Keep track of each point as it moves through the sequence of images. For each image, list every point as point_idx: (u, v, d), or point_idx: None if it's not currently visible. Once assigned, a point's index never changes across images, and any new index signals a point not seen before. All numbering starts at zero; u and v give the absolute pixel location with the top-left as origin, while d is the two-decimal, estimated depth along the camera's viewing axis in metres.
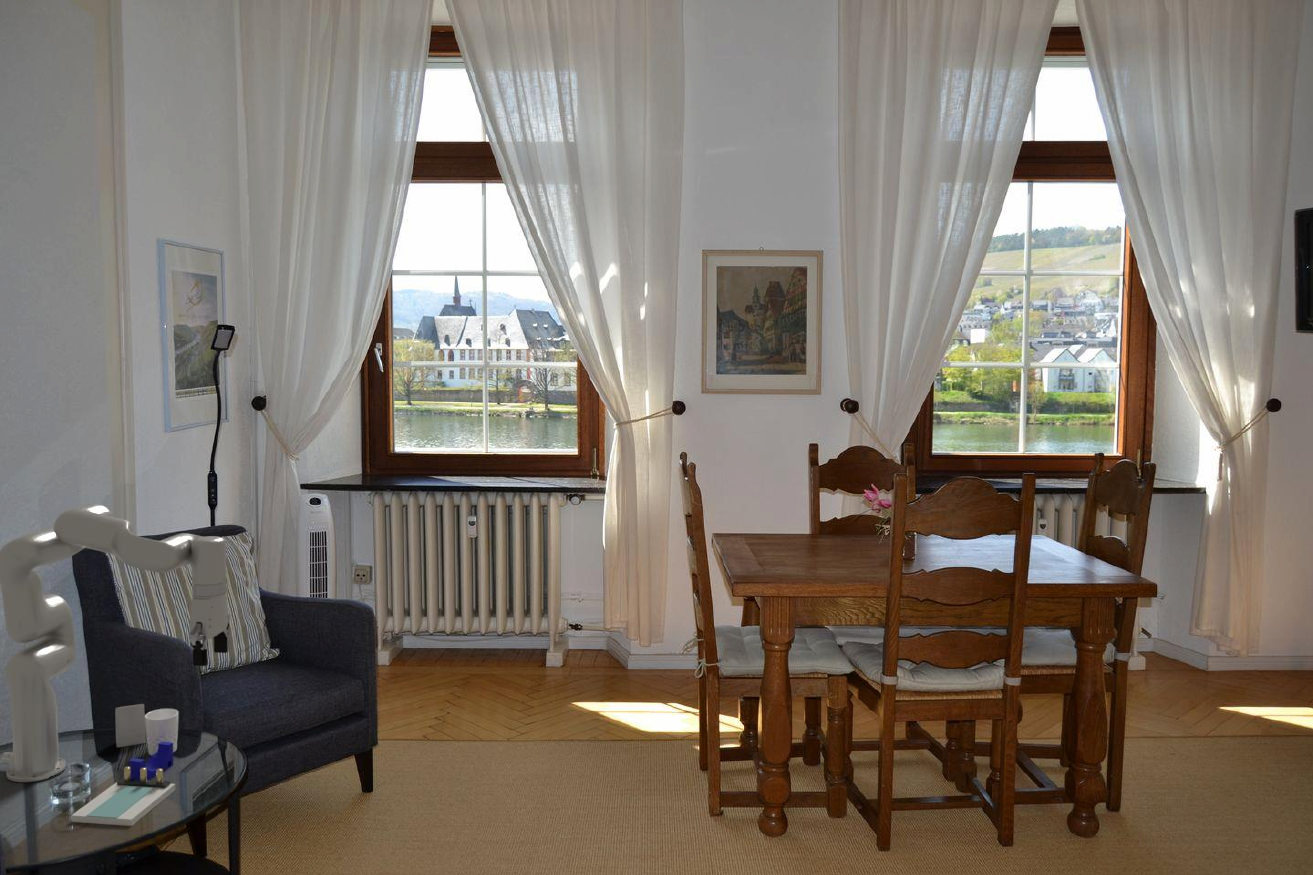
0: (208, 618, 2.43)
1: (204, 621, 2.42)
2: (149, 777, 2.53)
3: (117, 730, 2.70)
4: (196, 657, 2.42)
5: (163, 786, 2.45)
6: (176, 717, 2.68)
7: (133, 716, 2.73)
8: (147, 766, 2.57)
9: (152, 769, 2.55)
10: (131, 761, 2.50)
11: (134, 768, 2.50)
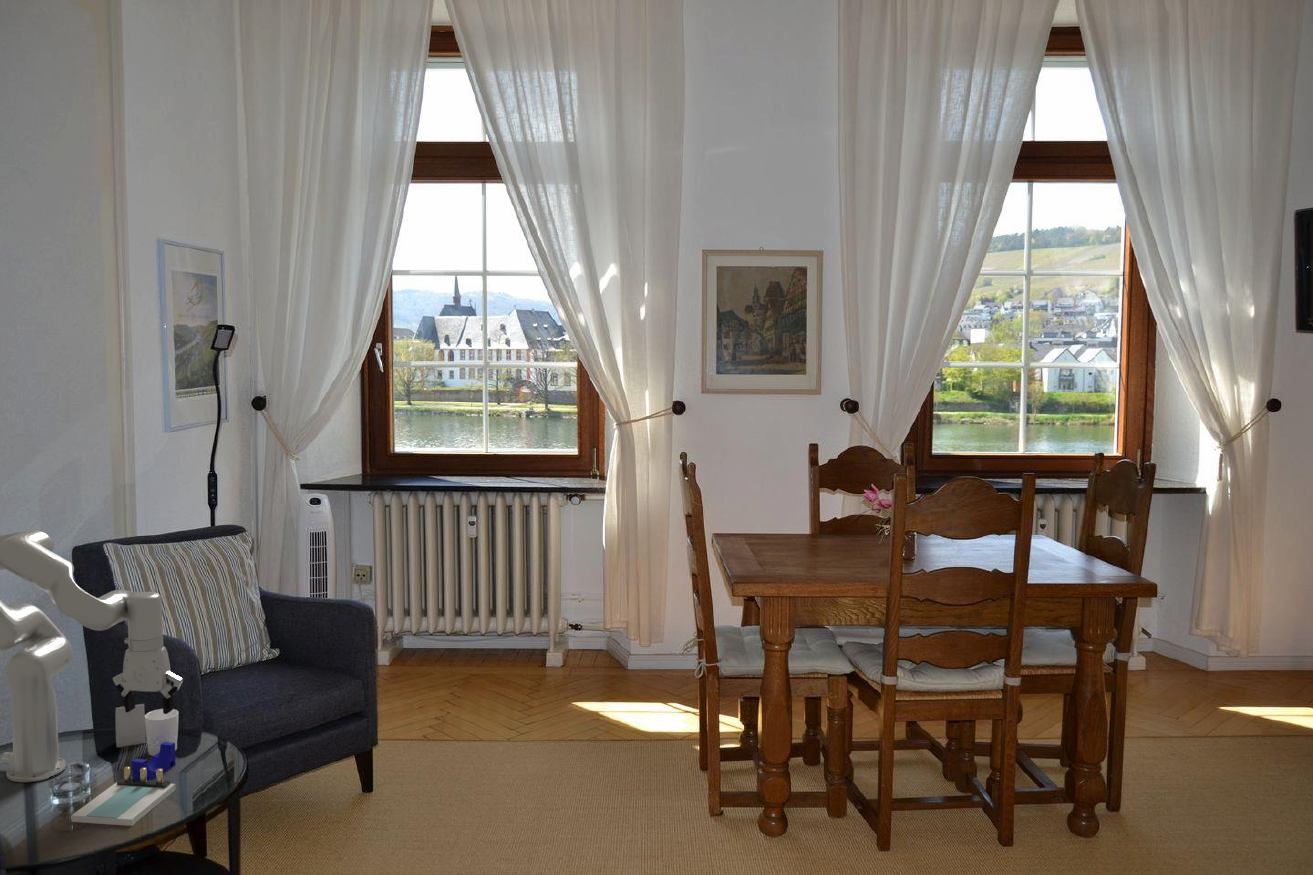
0: None
1: (169, 668, 2.54)
2: (151, 777, 2.53)
3: (117, 730, 2.70)
4: (170, 703, 2.53)
5: (163, 786, 2.45)
6: (176, 717, 2.68)
7: (133, 716, 2.73)
8: (149, 766, 2.57)
9: (154, 769, 2.55)
10: (133, 761, 2.50)
11: (136, 768, 2.50)
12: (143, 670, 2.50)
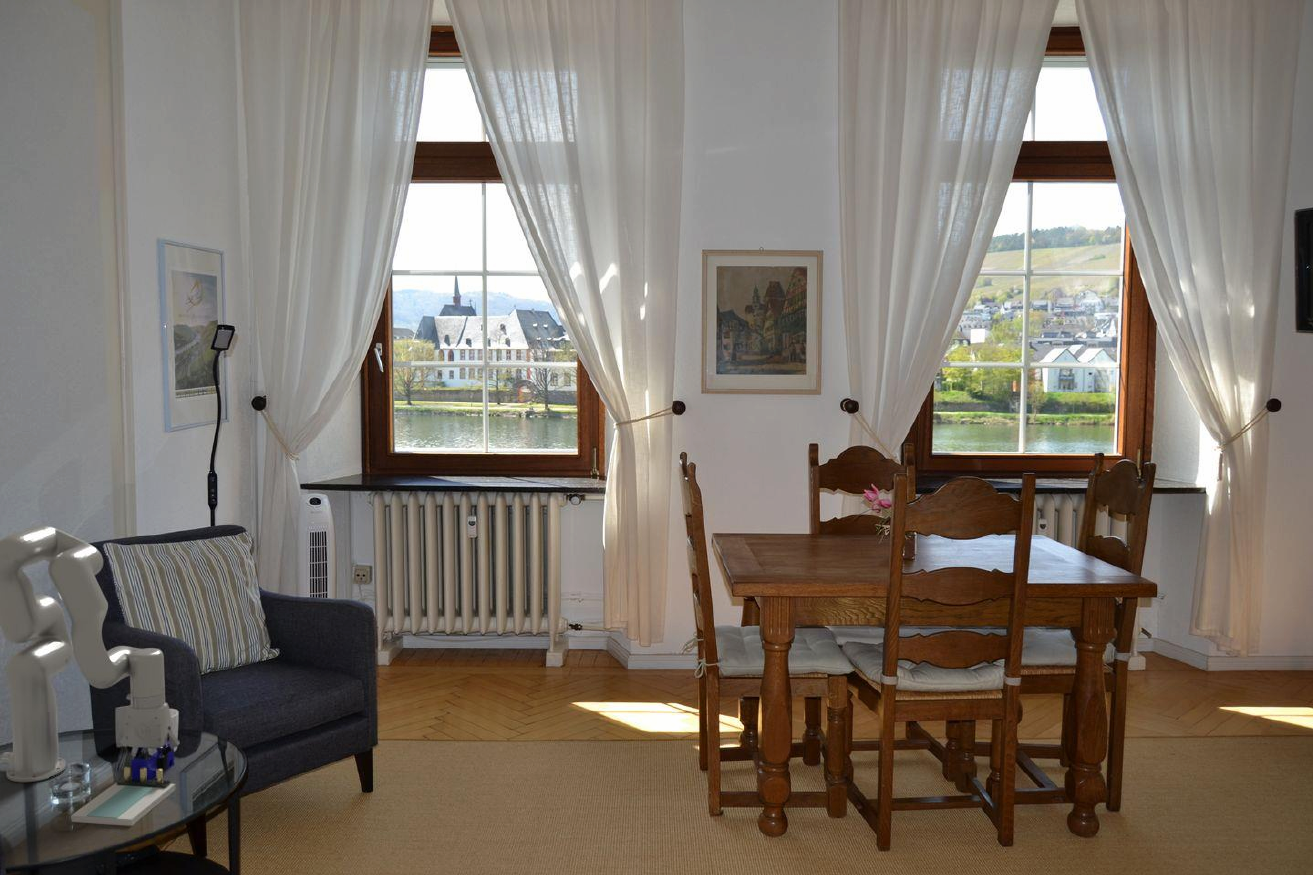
0: None
1: (171, 724, 2.56)
2: (151, 776, 2.53)
3: (117, 730, 2.70)
4: (164, 763, 2.55)
5: (163, 786, 2.45)
6: (176, 717, 2.68)
7: None
8: (148, 766, 2.57)
9: (153, 768, 2.55)
10: (133, 761, 2.50)
11: (136, 767, 2.50)
12: (145, 727, 2.52)
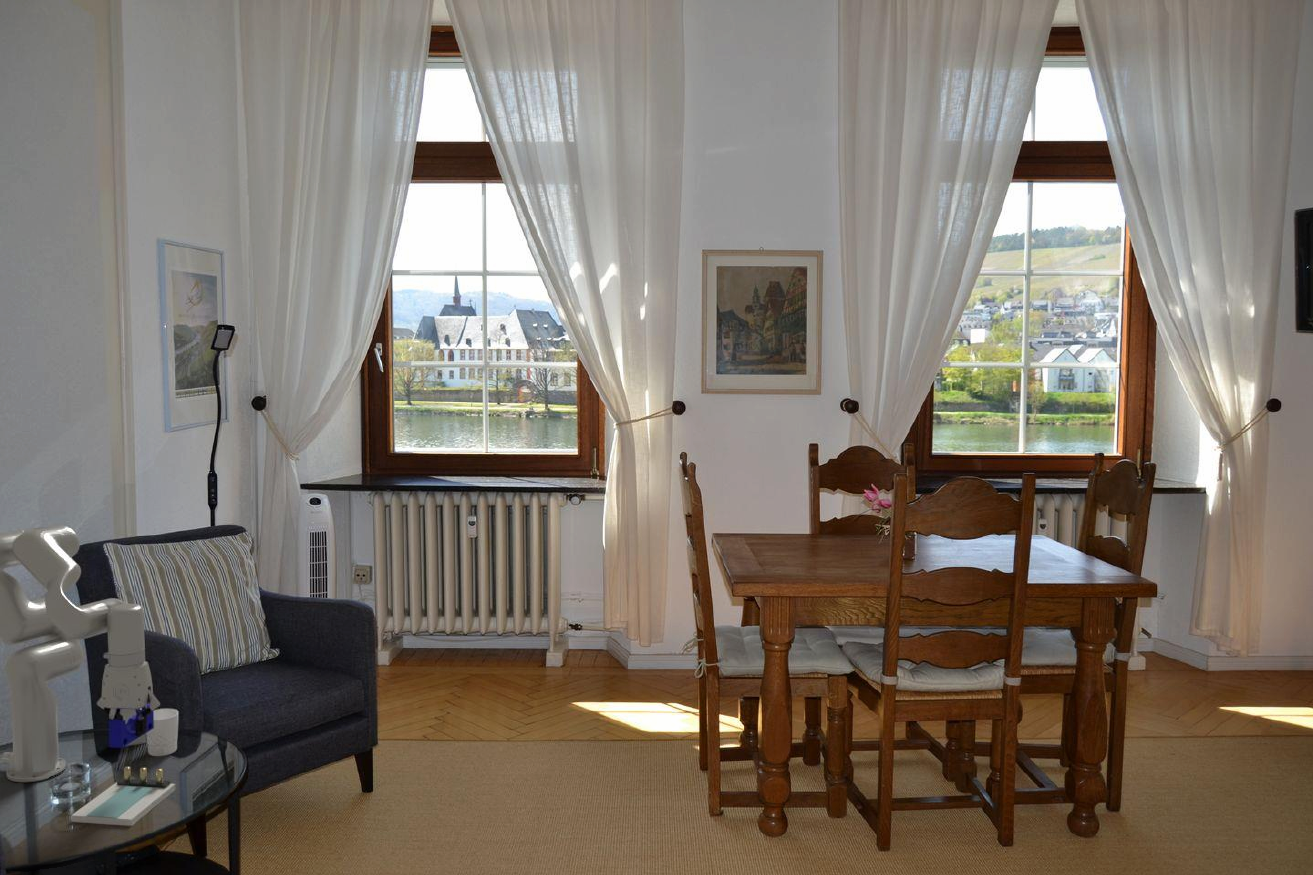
0: None
1: (151, 684, 2.42)
2: (130, 739, 2.39)
3: None
4: (143, 726, 2.41)
5: (163, 786, 2.45)
6: (176, 717, 2.68)
7: None
8: (126, 728, 2.43)
9: (132, 731, 2.41)
10: (111, 722, 2.35)
11: (114, 729, 2.35)
12: (124, 686, 2.38)
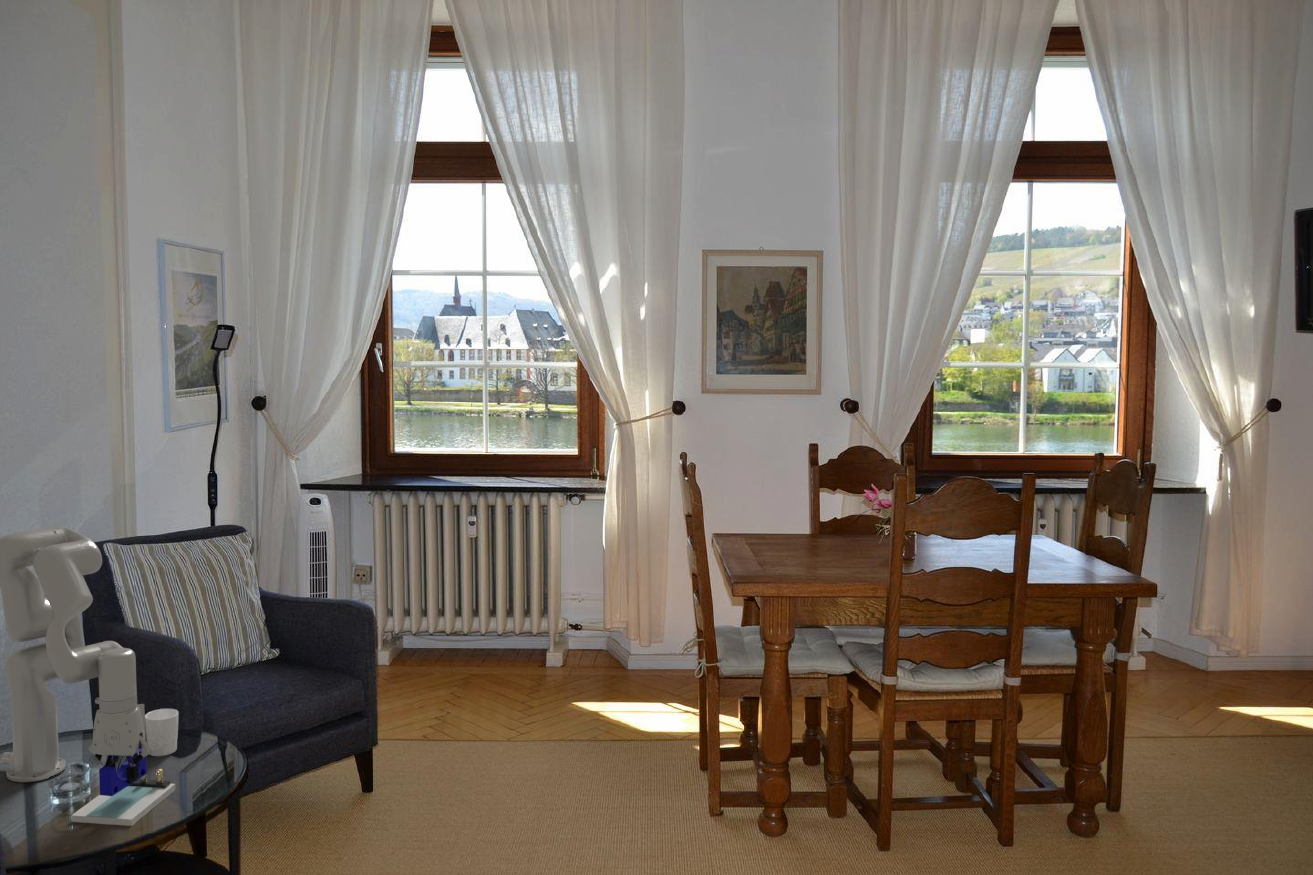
0: None
1: (143, 730, 2.37)
2: (121, 787, 2.34)
3: None
4: (135, 773, 2.36)
5: (163, 786, 2.45)
6: (176, 717, 2.68)
7: None
8: (118, 775, 2.38)
9: (124, 778, 2.37)
10: (101, 769, 2.31)
11: (104, 777, 2.31)
12: (115, 733, 2.33)
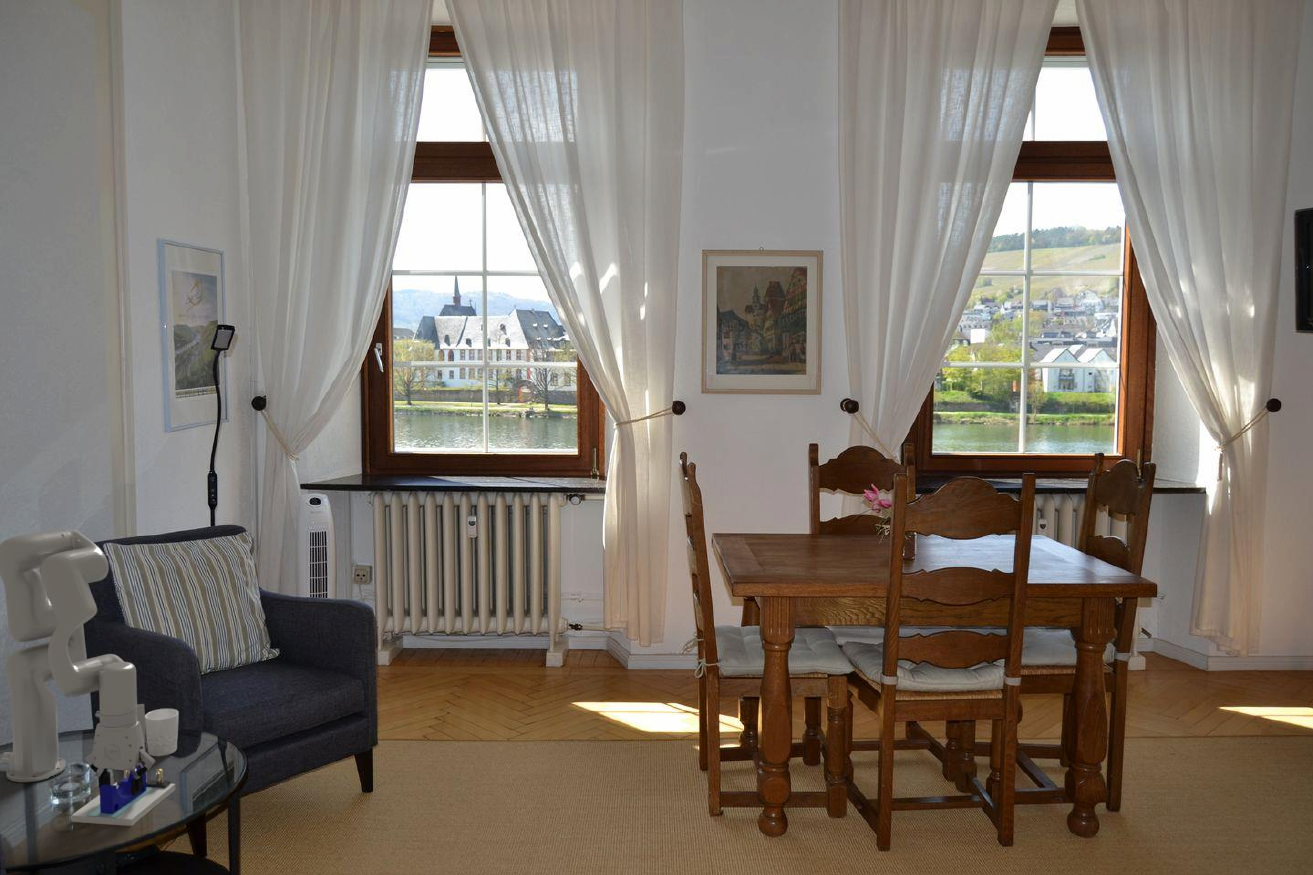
0: None
1: (143, 744, 2.37)
2: (121, 804, 2.35)
3: None
4: (140, 785, 2.37)
5: (163, 786, 2.45)
6: (176, 717, 2.68)
7: None
8: (118, 792, 2.39)
9: (124, 795, 2.37)
10: (102, 788, 2.31)
11: (105, 795, 2.31)
12: (115, 747, 2.33)
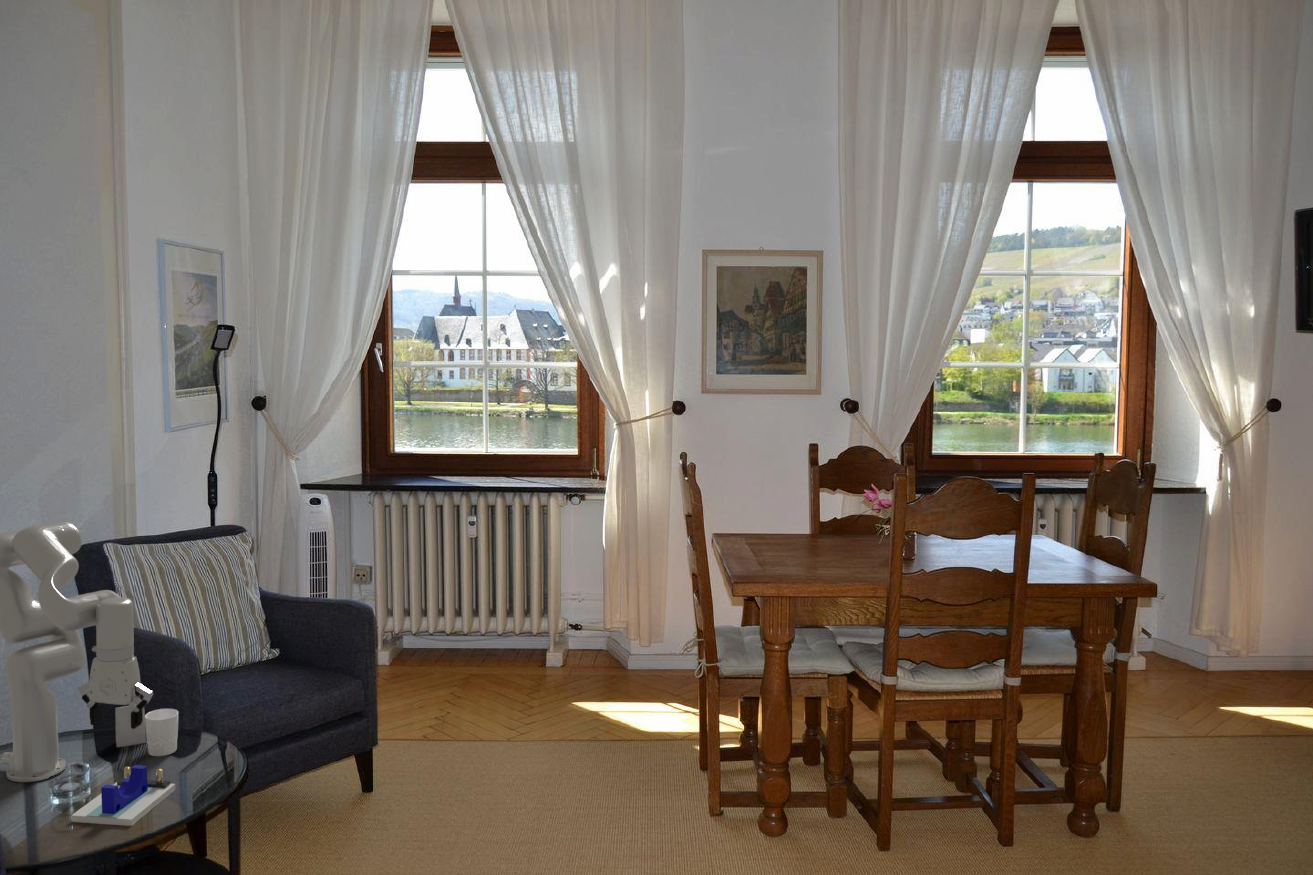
0: None
1: (139, 679, 2.37)
2: (123, 804, 2.35)
3: (117, 730, 2.70)
4: (139, 718, 2.37)
5: (163, 786, 2.45)
6: (176, 717, 2.68)
7: None
8: (120, 792, 2.39)
9: (125, 795, 2.37)
10: (103, 788, 2.31)
11: (107, 795, 2.31)
12: (111, 681, 2.33)
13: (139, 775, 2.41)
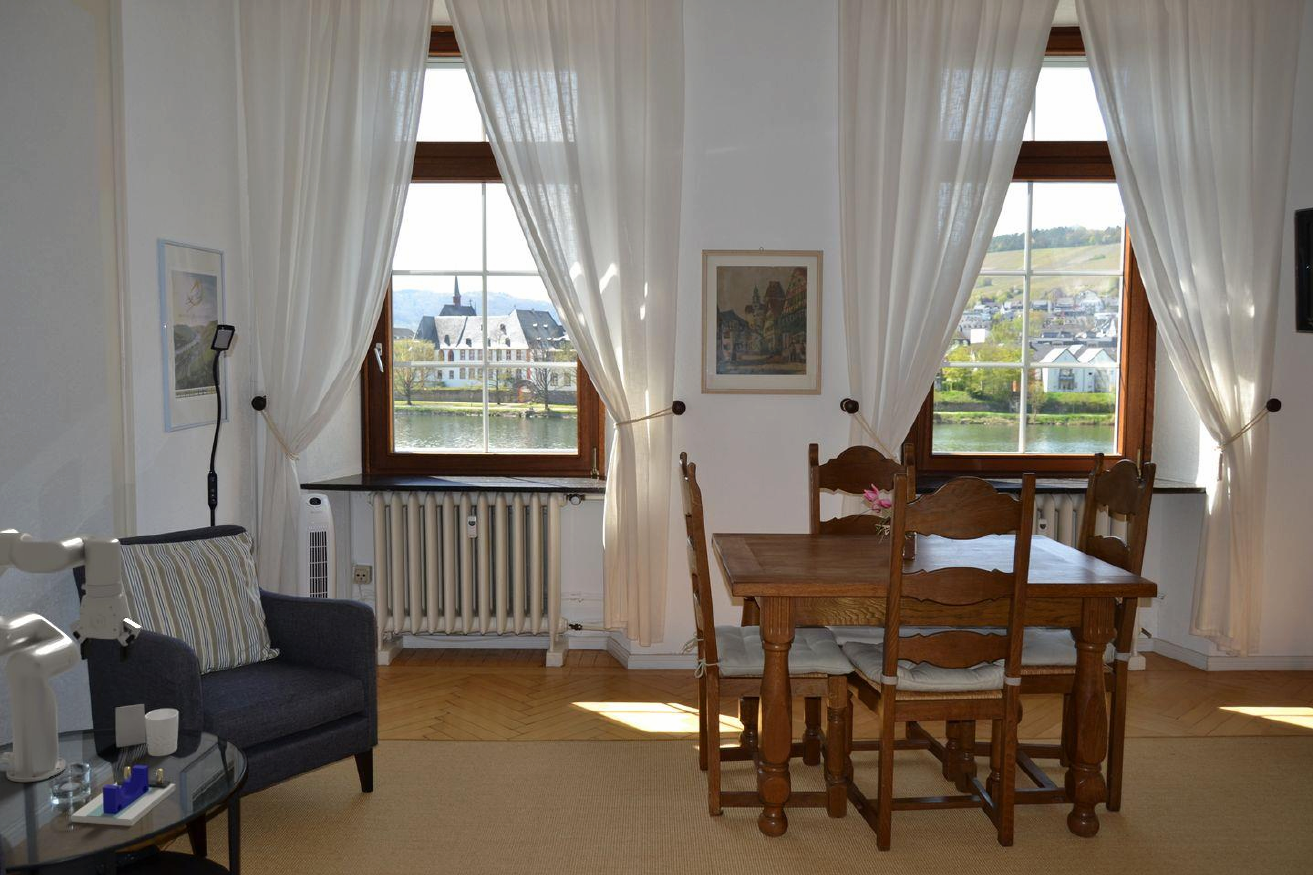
0: None
1: (127, 615, 2.48)
2: (124, 804, 2.35)
3: (117, 730, 2.70)
4: (128, 652, 2.47)
5: (163, 786, 2.45)
6: (176, 717, 2.68)
7: (133, 716, 2.73)
8: (121, 792, 2.39)
9: (127, 795, 2.37)
10: (105, 788, 2.31)
11: (108, 795, 2.31)
12: (100, 617, 2.44)
13: (140, 775, 2.41)
